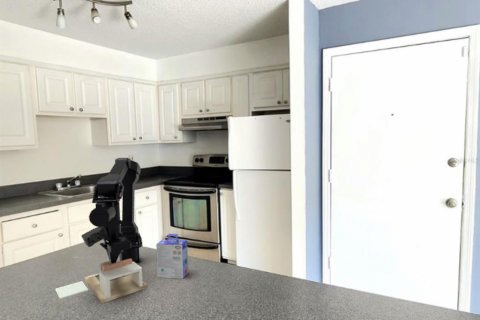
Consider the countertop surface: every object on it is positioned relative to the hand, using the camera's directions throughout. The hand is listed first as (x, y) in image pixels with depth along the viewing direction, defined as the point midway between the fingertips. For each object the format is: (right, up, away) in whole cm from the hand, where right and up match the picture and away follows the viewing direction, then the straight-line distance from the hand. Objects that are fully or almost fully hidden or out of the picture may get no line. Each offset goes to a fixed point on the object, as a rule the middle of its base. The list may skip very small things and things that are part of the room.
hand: (113, 265), depth 100 cm
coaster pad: (-13, -8, -1) cm, 15 cm away
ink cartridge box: (+18, -7, +9) cm, 21 cm away
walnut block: (-4, -7, +7) cm, 11 cm away
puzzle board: (-1, -8, +3) cm, 8 cm away
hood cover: (+4, -7, -2) cm, 8 cm away
